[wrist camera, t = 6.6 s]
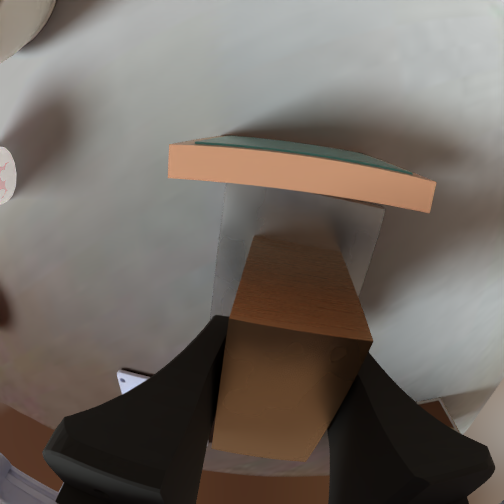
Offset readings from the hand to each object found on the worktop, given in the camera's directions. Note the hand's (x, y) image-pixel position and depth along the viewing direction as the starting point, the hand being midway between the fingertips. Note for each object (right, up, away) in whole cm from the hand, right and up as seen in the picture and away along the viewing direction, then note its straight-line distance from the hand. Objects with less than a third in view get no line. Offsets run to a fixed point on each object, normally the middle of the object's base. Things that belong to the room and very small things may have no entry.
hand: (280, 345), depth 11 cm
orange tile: (+1, +9, +5) cm, 10 cm away
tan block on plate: (0, +1, +3) cm, 3 cm away
